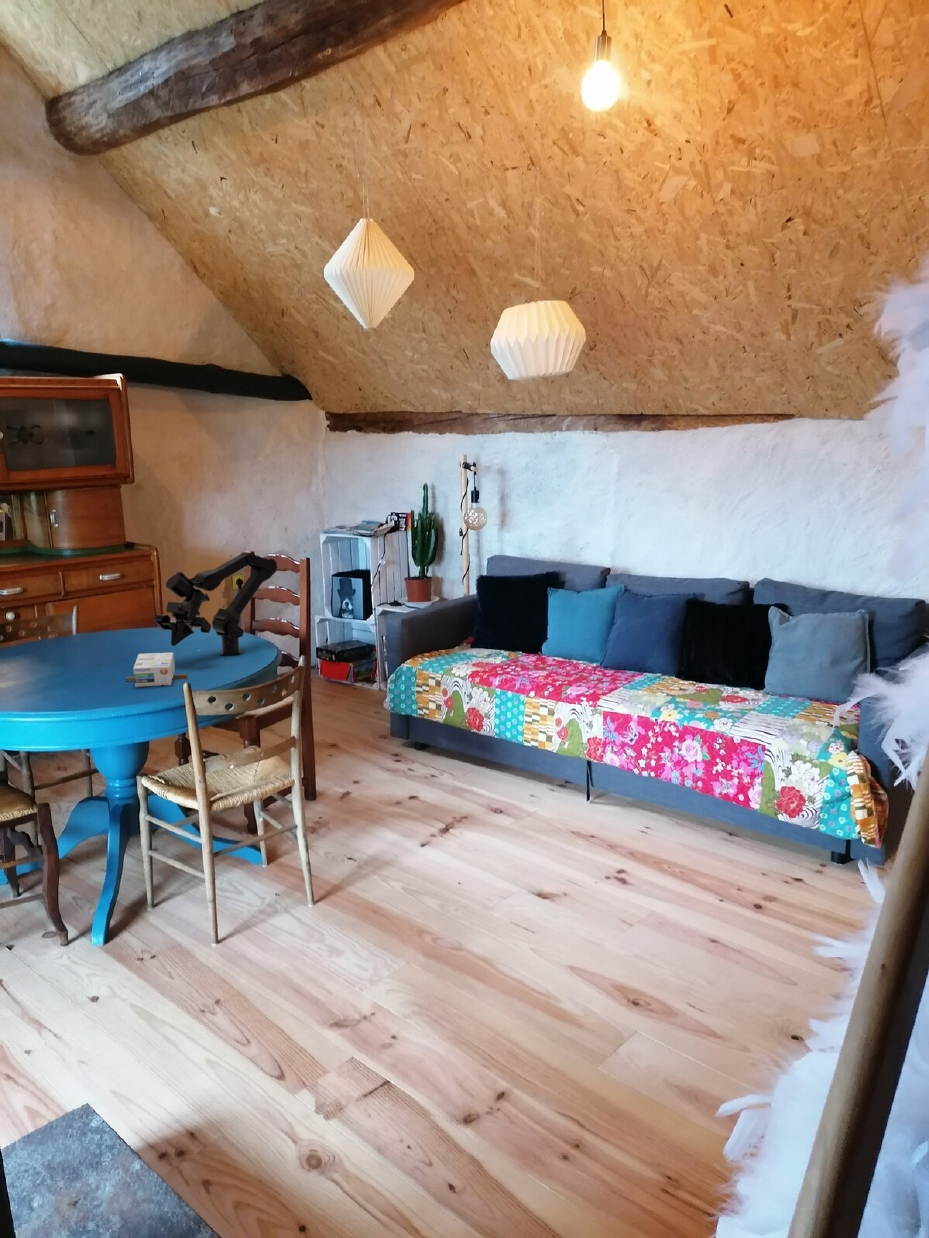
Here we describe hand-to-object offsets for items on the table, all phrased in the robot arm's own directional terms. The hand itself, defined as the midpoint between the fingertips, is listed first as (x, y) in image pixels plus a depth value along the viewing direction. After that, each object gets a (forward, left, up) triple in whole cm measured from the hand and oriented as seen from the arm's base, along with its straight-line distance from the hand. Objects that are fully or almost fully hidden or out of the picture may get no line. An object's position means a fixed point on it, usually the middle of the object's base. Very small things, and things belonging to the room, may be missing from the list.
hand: (172, 645), depth 268 cm
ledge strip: (+11, -4, -8) cm, 14 cm away
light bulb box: (+8, -4, -3) cm, 10 cm away
